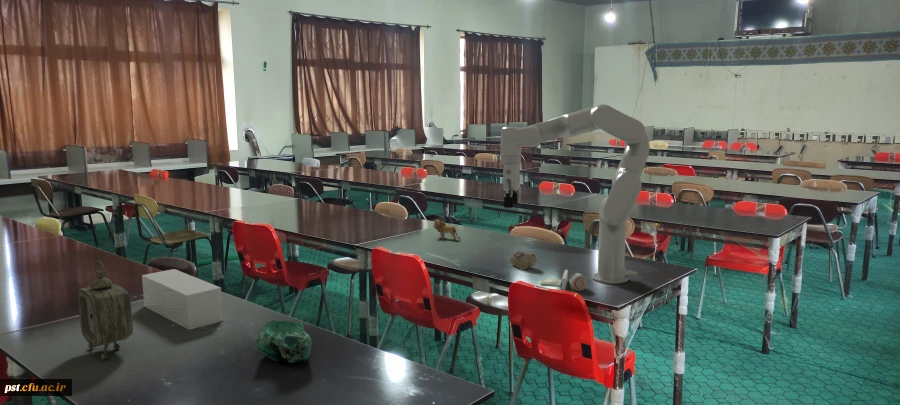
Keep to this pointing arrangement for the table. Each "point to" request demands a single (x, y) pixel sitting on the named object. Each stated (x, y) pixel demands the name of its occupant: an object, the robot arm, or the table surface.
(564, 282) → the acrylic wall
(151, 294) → the stack of papers
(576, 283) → the roller toy
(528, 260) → the rock
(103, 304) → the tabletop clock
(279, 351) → the mineral
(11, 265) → the table surface
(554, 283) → the mat
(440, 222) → the lion figurine
